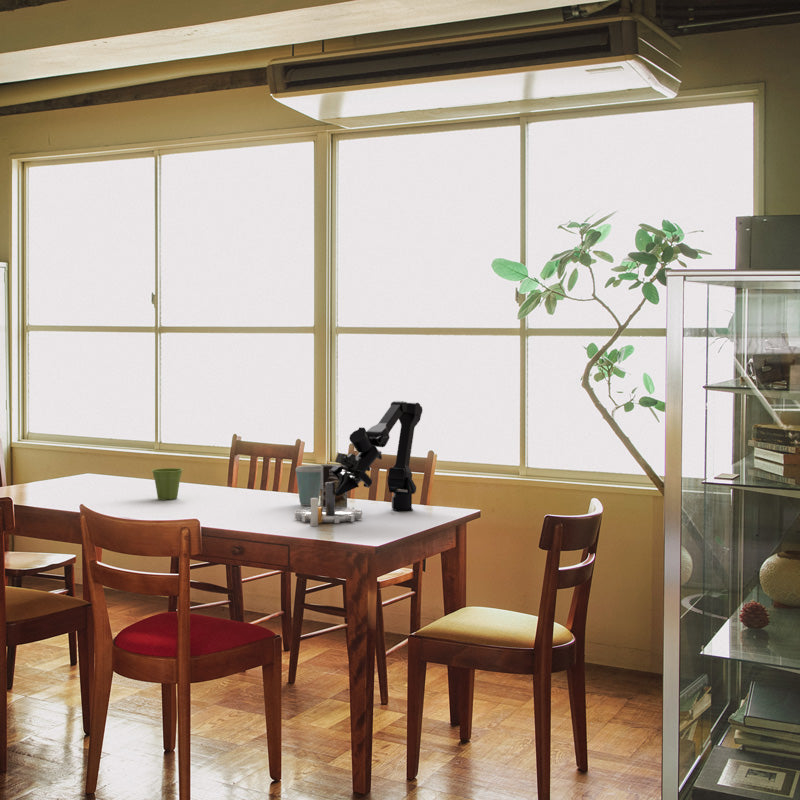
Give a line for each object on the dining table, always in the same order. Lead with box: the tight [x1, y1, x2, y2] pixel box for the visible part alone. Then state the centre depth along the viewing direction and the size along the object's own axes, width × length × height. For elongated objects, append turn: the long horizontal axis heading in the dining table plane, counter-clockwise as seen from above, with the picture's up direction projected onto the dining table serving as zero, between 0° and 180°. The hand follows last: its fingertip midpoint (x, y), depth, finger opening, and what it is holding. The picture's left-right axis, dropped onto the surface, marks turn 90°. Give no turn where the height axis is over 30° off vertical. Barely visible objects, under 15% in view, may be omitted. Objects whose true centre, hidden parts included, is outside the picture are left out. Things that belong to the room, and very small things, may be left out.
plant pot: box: [151, 467, 184, 501], centre depth 374 cm, size 12×12×11 cm
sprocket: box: [294, 482, 363, 524], centre depth 333 cm, size 23×23×13 cm
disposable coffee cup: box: [295, 464, 322, 506], centre depth 362 cm, size 11×11×15 cm
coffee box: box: [319, 463, 348, 508], centre depth 353 cm, size 9×6×16 cm
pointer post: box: [310, 498, 319, 527], centre depth 320 cm, size 2×2×9 cm
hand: (335, 495), depth 325 cm, fingers closed
